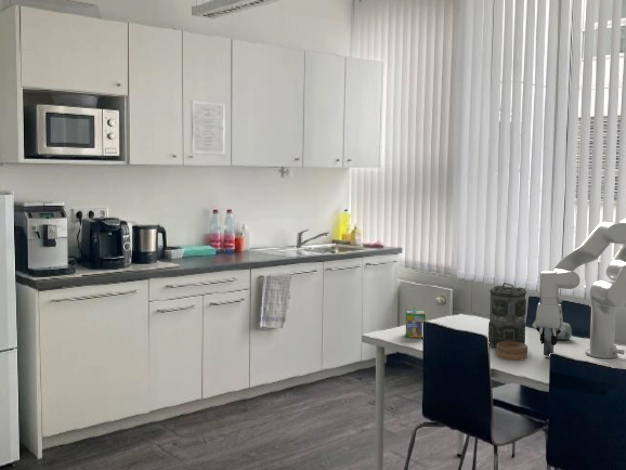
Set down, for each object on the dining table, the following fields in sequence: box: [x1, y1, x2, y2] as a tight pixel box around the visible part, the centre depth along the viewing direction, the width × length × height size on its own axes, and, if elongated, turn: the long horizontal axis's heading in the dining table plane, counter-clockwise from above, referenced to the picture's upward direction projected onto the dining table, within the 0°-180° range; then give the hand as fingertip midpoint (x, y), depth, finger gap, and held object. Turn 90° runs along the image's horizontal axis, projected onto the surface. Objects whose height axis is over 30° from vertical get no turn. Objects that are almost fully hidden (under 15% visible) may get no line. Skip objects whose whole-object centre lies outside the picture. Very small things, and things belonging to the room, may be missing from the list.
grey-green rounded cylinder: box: [557, 321, 573, 341], centre depth 327 cm, size 14×10×10 cm
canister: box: [487, 282, 527, 349], centre depth 313 cm, size 16×16×28 cm
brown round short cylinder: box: [496, 341, 528, 361], centre depth 296 cm, size 12×12×5 cm
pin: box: [543, 327, 555, 357], centre depth 294 cm, size 4×4×14 cm
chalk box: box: [405, 304, 426, 339], centre depth 331 cm, size 9×9×15 cm
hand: (548, 343), depth 294 cm, fingers closed on pin, 4 cm apart
